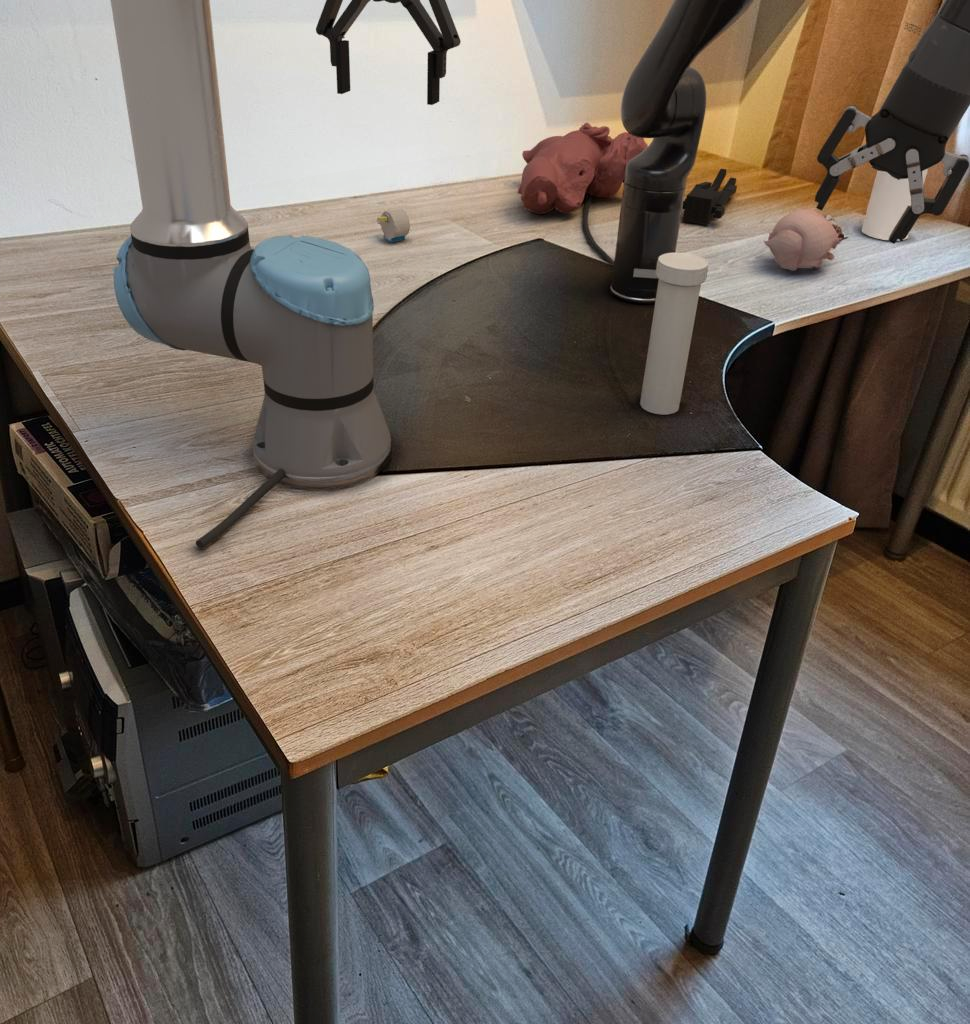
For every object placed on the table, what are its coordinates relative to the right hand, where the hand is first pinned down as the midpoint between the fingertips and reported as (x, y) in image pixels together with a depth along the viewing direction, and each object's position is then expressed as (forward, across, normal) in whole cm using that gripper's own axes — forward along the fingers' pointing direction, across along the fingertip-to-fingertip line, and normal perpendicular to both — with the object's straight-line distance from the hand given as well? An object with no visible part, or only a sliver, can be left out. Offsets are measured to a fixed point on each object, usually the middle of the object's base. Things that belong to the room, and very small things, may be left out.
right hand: (855, 223), depth 106 cm
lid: (+11, +15, +4) cm, 19 cm away
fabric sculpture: (+40, +44, -73) cm, 94 cm away
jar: (+29, +10, +4) cm, 31 cm away
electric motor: (+45, +65, -35) cm, 87 cm away
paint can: (+24, -11, -86) cm, 90 cm away
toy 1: (+33, +20, -87) cm, 95 cm away
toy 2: (+27, +1, -58) cm, 64 cm away
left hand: (+15, +63, -15) cm, 67 cm away
